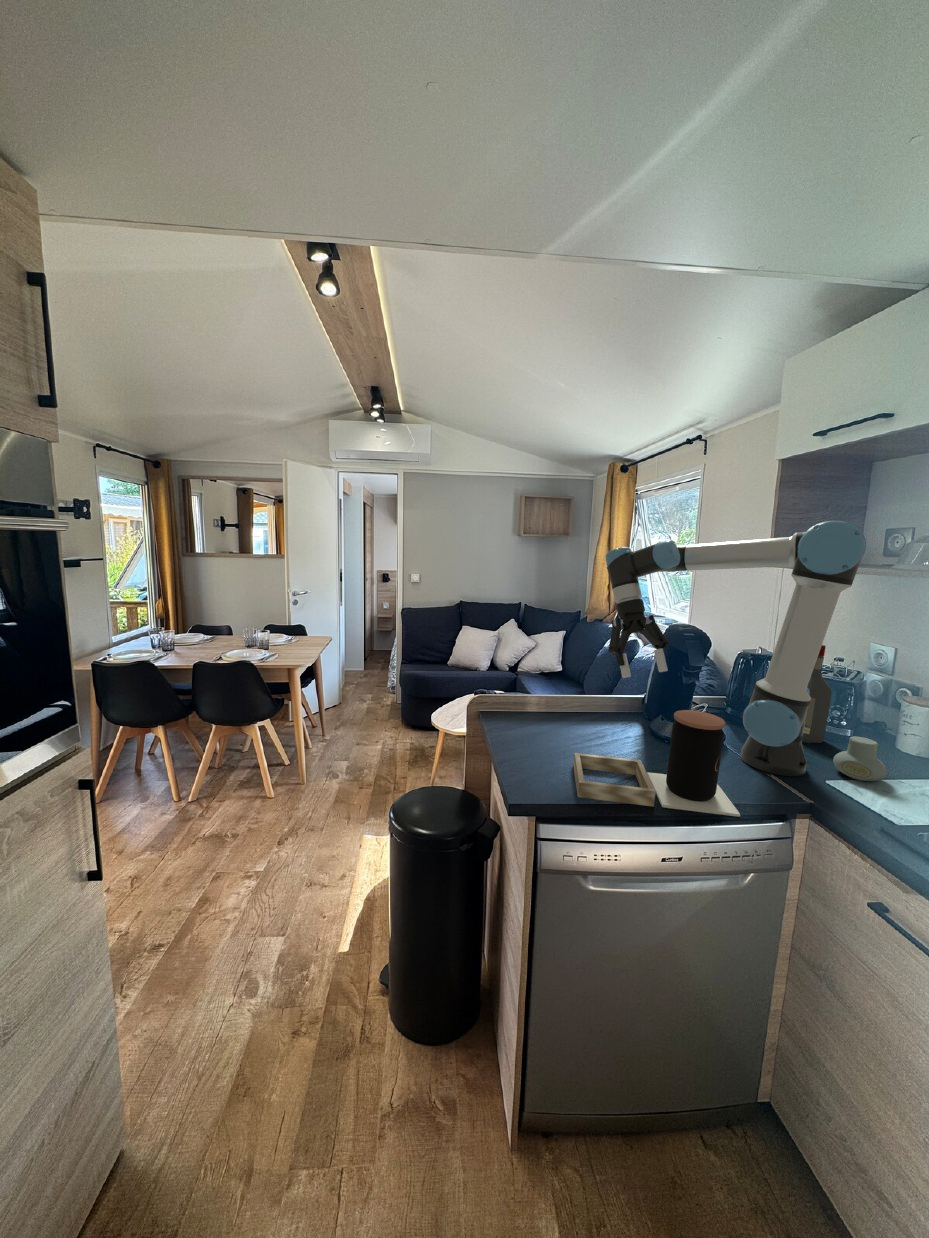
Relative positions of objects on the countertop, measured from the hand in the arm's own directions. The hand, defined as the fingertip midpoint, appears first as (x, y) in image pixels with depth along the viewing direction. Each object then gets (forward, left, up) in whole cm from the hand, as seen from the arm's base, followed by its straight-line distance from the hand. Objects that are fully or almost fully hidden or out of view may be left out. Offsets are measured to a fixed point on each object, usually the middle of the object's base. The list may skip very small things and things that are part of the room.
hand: (645, 674), depth 136 cm
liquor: (-55, -24, -22) cm, 64 cm away
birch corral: (+11, +25, -22) cm, 35 cm away
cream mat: (-7, +25, -22) cm, 34 cm away
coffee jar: (-7, +25, -21) cm, 33 cm away
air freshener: (-55, +3, -22) cm, 59 cm away
